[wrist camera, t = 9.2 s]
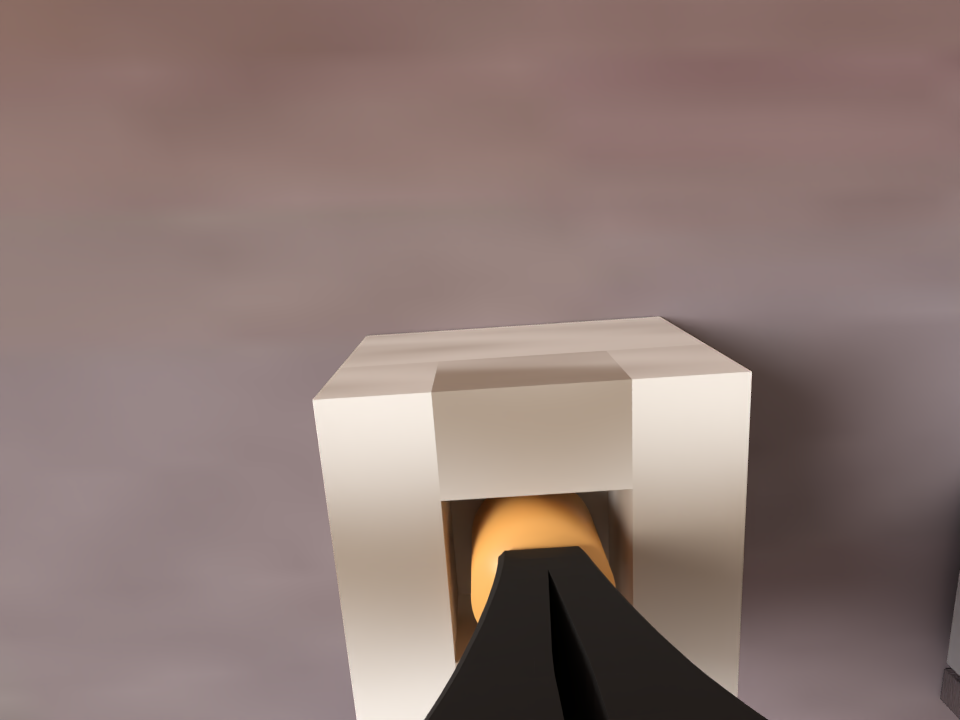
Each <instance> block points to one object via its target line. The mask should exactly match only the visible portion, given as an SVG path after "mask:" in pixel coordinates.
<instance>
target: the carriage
mask: <svg viewBox="0 0 960 720" xmlns="http://www.w3.org/2000/svg"><path fill="white" fill-rule="evenodd" d="M947 664H948V665H949V666H950V667H951V668H952V669H953V670H954V671H955V672H956V673H957V674H958V675H959V676H960V572H959V579H958V586H957V593H956V600H955V607H954V614H953V621H952V628H951V635H950V642H949V649H948V656H947Z"/></svg>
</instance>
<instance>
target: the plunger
mask: <svg viewBox="0 0 960 720" xmlns="http://www.w3.org/2000/svg"><path fill="white" fill-rule="evenodd" d="M570 546H579V547H580V548H581V549H582V550H584V551H585V552H586V554H587V555H588V556H589V557H590V558H591V560H592V561H593V562H594V563H595V565H596V566H597V567H598V568H599V569H600V571H601V572H602V573H603V574H604V575H605V576H606V578H607V579H608V580H609V581H610V582H611V583H612V584H613V585H614V587H615V588H616V586H615V581H614V576H613V574H612V571H611V568H610V566H609V563H608V560H607V557H606V555H605V552H604V549H603V547H602V544H601V541H600V539H599V536H598V533H597V531H596V528H595V525H594V523H593V520H592V517H591V515H590V512H589V510H588V508H587V506H586V505H585V503H584V502H583V500H582V499H581V498H580V497H579V496H578V495H577V494H576V493H561V494H545V495H529V496H513V497H497V498H486V499H485V500H484V501H483V503H482V504H481V506H480V507H479V509H478V511H477V513H476V515H475V518H474V521H473V526H472V557H471V604H472V610H473V613H474V616H475V619H476V621H477V623H478V621H479V619H480V617H481V614H482V612H483V609H484V607H485V605H486V602H487V600H488V597H489V594H490V591H491V588H492V585H493V582H494V578H495V574H496V570H497V565H498V557H499V556H500V555H501V554H502V553H503V552H504V551H506V550H522V549H538V548H554V547H570Z"/></svg>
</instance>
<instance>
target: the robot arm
mask: <svg viewBox="0 0 960 720" xmlns="http://www.w3.org/2000/svg"><path fill="white" fill-rule="evenodd" d="M424 720H768V719H766V718H765V717H763V716H762V715H760V714H759V713H757V712H756V711H755V710H753V709H752V708H750V707H749V706H747V705H746V704H745V703H743V702H742V701H741V700H739V699H738V698H737V697H735V696H734V695H733V694H731V693H730V692H729V691H728V690H726V689H725V688H724V687H722V686H721V685H720V684H718V683H717V682H716V681H714V680H713V679H712V678H710V677H709V676H708V675H706V674H705V673H704V672H703V671H702V670H700V669H699V668H698V667H697V666H696V665H694V664H693V663H692V662H691V661H690V660H689V659H688V658H686V657H685V656H684V655H683V654H682V653H681V652H680V651H679V650H678V649H676V648H675V647H674V646H673V645H672V644H671V643H670V642H669V641H668V640H667V639H665V638H664V637H663V636H662V635H661V634H660V633H659V632H658V631H657V630H656V629H655V628H654V627H653V626H652V625H651V624H650V623H649V622H648V621H647V620H646V619H645V618H644V617H643V616H642V615H641V614H640V613H639V612H638V611H637V610H636V609H635V608H634V607H633V606H632V605H631V604H630V603H629V602H628V601H627V600H626V599H625V597H624V596H623V595H622V594H621V593H620V592H619V591H618V590H617V589H616V588H615V587H614V585H613V584H612V583H611V582H610V581H609V580H608V579H607V578H606V576H605V575H604V574H603V573H602V572H601V571H600V569H599V568H598V567H597V566H596V565H595V563H594V562H593V561H592V560H591V558H590V557H589V556H588V555H587V554H586V552H585V551H584V550H582V549H581V548H580V547H579V546H570V547H554V548H538V549H522V550H506V551H504V552H503V553H502V554H501V555H500V556H499V557H498V565H497V570H496V574H495V578H494V582H493V585H492V588H491V591H490V594H489V597H488V600H487V602H486V605H485V607H484V609H483V612H482V614H481V617H480V619H479V621H478V624H477V626H476V629H475V631H474V633H473V635H472V637H471V639H470V641H469V643H468V645H467V647H466V649H465V651H464V653H463V655H462V657H461V659H460V661H459V663H458V664H457V666H456V668H455V670H454V672H453V674H452V676H451V677H450V679H449V681H448V683H447V684H446V686H445V688H444V689H443V691H442V693H441V694H440V696H439V697H438V699H437V701H436V702H435V704H434V705H433V707H432V708H431V710H430V711H429V713H428V714H427V716H426V718H425V719H424Z"/></svg>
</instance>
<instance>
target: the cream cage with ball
mask: <svg viewBox="0 0 960 720" xmlns="http://www.w3.org/2000/svg"><path fill="white" fill-rule="evenodd" d="M751 380H752V371H750V370H748V369H747V368H745V367H743V366H742V365H740V364H738V363H737V362H735V361H733V360H732V359H730V358H728V357H727V356H725V355H723V354H722V353H720V352H718V351H717V350H715V349H713V348H712V347H710V346H708V345H706V344H705V343H703V342H701V341H700V340H698V339H696V338H695V337H693V336H691V335H690V334H688V333H686V332H685V331H683V330H681V329H680V328H678V327H676V326H675V325H673V324H671V323H670V322H668V321H666V320H665V319H663V318H661V317H645V318H630V319H615V320H600V321H584V322H569V323H554V324H539V325H523V326H508V327H493V328H478V329H462V330H447V331H432V332H417V333H401V334H386V335H371V336H366V337H365V338H364V339H363V341H362V342H361V343H360V344H359V345H358V347H357V348H356V349H355V350H354V351H353V353H352V354H351V355H350V356H349V357H348V358H347V360H346V361H345V362H344V363H343V364H342V366H341V367H340V368H339V369H338V370H337V372H336V373H335V374H334V375H333V376H332V377H331V379H330V380H329V381H328V382H327V383H326V385H325V386H324V387H323V388H322V389H321V391H320V392H319V393H318V394H317V395H316V396H315V398H314V399H313V407H314V414H315V422H316V429H317V436H318V443H319V451H320V458H321V465H322V472H323V479H324V487H325V494H326V501H327V508H328V516H329V523H330V530H331V537H332V544H333V552H334V559H335V566H336V573H337V581H338V588H339V595H340V602H341V609H342V617H343V624H344V631H345V638H346V646H347V653H348V660H349V667H350V674H351V682H352V689H353V696H354V703H355V710H356V718H357V720H424V719H425V718H426V716H427V714H428V713H429V711H430V710H431V708H432V707H433V705H434V704H435V702H436V701H437V699H438V697H439V696H440V694H441V693H442V691H443V689H444V688H445V686H446V684H447V683H448V681H449V679H450V677H451V676H452V674H453V672H454V670H455V668H456V666H457V664H458V663H459V661H460V659H461V657H462V655H463V653H464V651H465V649H466V647H467V645H468V643H469V641H470V639H471V637H472V635H473V633H474V631H475V629H476V626H477V624H478V623H477V621H476V619H475V616H474V613H473V610H472V604H471V557H472V526H473V521H474V518H475V515H476V513H477V511H478V509H479V507H480V506H481V504H482V503H483V501H484V500H485V499H486V498H497V497H513V496H529V495H545V494H561V493H576V494H577V495H578V496H579V497H580V498H581V499H582V500H583V502H584V503H585V505H586V506H587V508H588V510H589V512H590V515H591V517H592V520H593V523H594V525H595V528H596V531H597V533H598V536H599V539H600V541H601V544H602V547H603V549H604V552H605V555H606V557H607V560H608V563H609V566H610V568H611V571H612V574H613V576H614V581H615V586H616V589H617V590H618V591H619V592H620V593H621V594H622V595H623V596H624V597H625V599H626V600H627V601H628V602H629V603H630V604H631V605H632V606H633V607H634V608H635V609H636V610H637V611H638V612H639V613H640V614H641V615H642V616H643V617H644V618H645V619H646V620H647V621H648V622H649V623H650V624H651V625H652V626H653V627H654V628H655V629H656V630H657V631H658V632H659V633H660V634H661V635H662V636H663V637H664V638H665V639H667V640H668V641H669V642H670V643H671V644H672V645H673V646H674V647H675V648H676V649H678V650H679V651H680V652H681V653H682V654H683V655H684V656H685V657H686V658H688V659H689V660H690V661H691V662H692V663H693V664H694V665H696V666H697V667H698V668H699V669H700V670H702V671H703V672H704V673H705V674H706V675H708V676H709V677H710V678H712V679H713V680H714V681H716V682H717V683H718V684H720V685H721V686H722V687H724V688H725V689H726V690H728V691H729V692H730V693H731V694H733V695H734V696H735V697H737V693H738V671H739V648H740V626H741V604H742V581H743V559H744V537H745V514H746V492H747V469H748V447H749V425H750V402H751Z"/></svg>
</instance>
